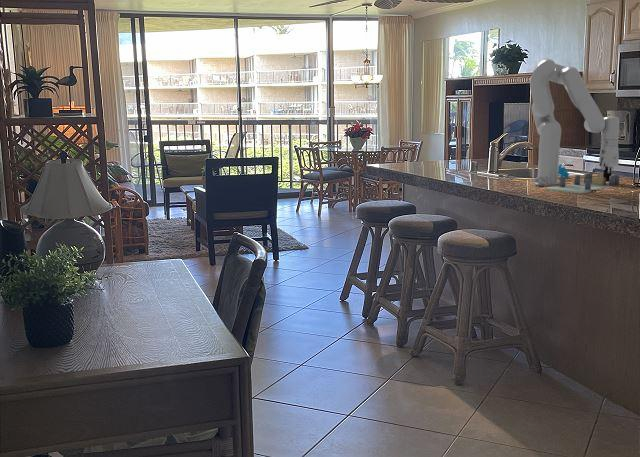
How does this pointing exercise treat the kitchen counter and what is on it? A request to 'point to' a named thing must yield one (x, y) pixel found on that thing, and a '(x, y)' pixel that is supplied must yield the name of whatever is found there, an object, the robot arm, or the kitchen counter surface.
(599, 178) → the nut
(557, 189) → the spacer board
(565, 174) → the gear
